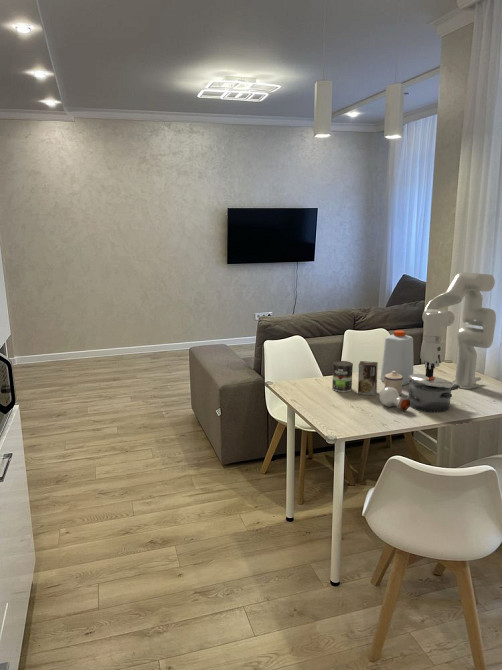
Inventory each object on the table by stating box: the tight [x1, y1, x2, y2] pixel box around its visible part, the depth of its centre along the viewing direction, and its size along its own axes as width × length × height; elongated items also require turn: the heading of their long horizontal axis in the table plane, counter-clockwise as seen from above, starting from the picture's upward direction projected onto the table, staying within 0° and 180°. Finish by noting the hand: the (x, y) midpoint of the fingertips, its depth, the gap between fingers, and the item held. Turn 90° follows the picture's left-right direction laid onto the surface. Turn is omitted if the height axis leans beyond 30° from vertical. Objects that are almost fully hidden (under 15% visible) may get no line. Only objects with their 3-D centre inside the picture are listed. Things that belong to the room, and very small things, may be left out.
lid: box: [409, 373, 453, 388], centre depth 250 cm, size 20×20×3 cm
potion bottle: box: [378, 387, 411, 412], centre depth 249 cm, size 9×10×15 cm
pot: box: [407, 380, 461, 413], centre depth 252 cm, size 21×25×10 cm
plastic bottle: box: [380, 329, 415, 386], centre depth 287 cm, size 15×15×28 cm
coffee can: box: [331, 360, 354, 393], centre depth 275 cm, size 10×10×14 cm
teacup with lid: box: [383, 371, 403, 396], centre depth 270 cm, size 12×9×12 cm
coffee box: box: [357, 360, 379, 397], centre depth 269 cm, size 9×6×16 cm
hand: (429, 376), depth 249 cm, fingers closed
